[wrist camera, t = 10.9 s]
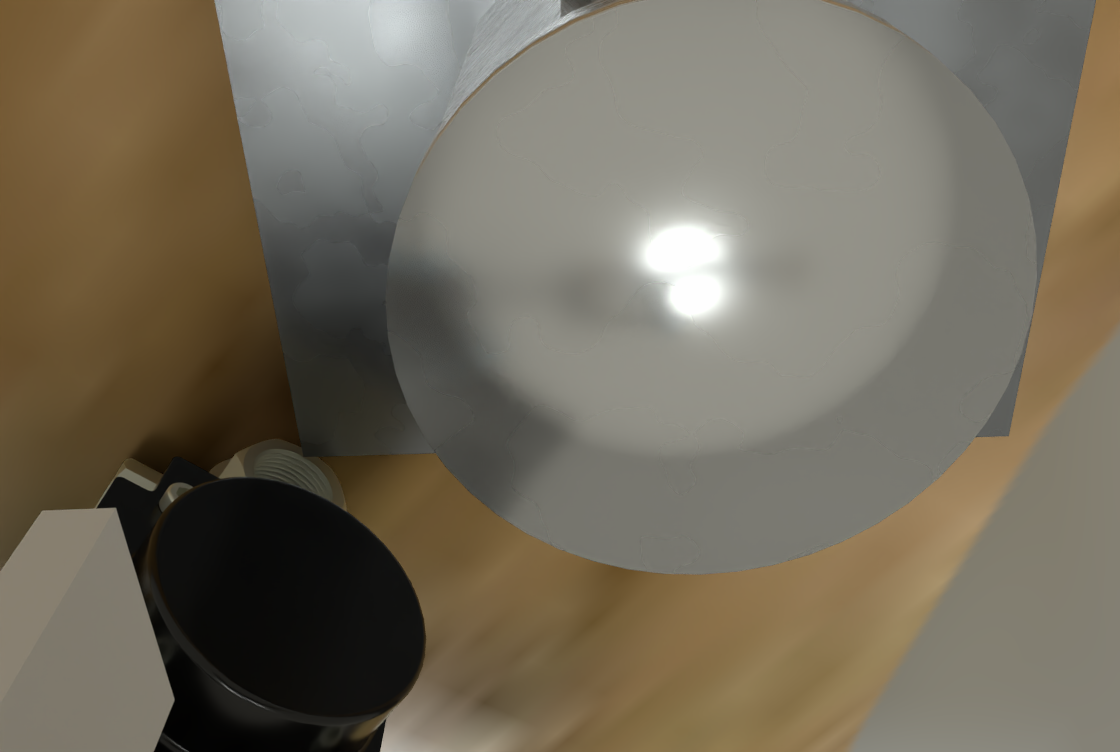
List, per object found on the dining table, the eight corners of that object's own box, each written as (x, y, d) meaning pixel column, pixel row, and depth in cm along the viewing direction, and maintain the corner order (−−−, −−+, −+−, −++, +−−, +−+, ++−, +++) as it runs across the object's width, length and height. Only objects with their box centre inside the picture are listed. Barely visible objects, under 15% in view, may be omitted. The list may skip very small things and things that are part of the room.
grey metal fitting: (828, 266, 30) (982, 566, 19) (476, 279, 30) (421, 582, 19) (897, -498, 22) (1248, -778, 10) (409, -470, 22) (242, -715, 11)
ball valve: (238, 260, 32) (-72, 724, 17) (474, 403, 34) (398, 923, 19) (13, 625, 39) (-346, 1180, 24) (221, 721, 42) (17, 1282, 26)
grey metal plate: (313, 431, 35) (233, 637, 27) (160, -392, 24) (-55, -473, 16) (991, 410, 34) (1125, 615, 26) (1153, -444, 23) (1471, -556, 15)
